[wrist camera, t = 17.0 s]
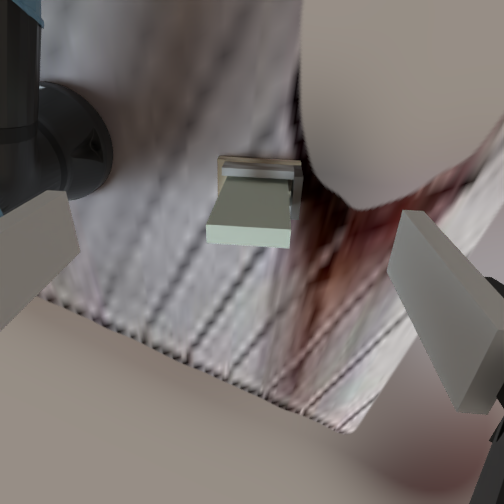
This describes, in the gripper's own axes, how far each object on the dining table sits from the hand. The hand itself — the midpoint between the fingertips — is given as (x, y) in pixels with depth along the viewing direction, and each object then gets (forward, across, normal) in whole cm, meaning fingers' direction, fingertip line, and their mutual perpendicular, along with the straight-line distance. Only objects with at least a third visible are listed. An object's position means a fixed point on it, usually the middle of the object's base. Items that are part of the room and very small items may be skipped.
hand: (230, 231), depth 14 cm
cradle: (+35, 0, -9) cm, 36 cm away
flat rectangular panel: (+33, 0, -9) cm, 34 cm away
